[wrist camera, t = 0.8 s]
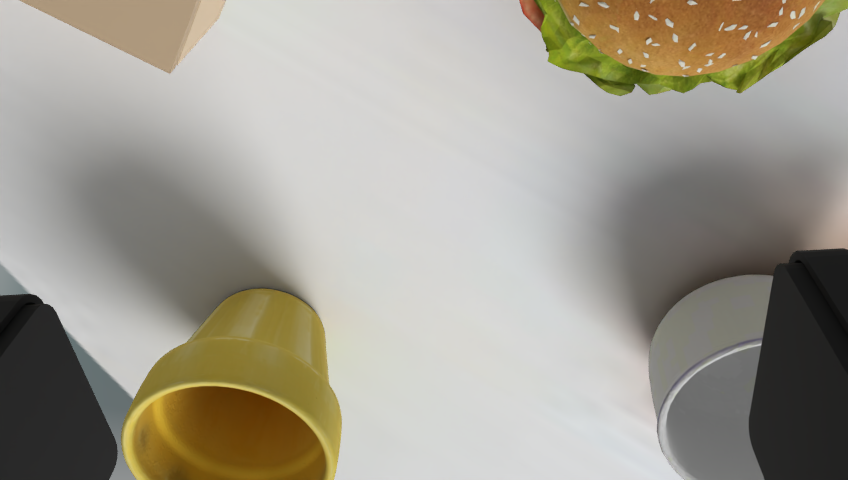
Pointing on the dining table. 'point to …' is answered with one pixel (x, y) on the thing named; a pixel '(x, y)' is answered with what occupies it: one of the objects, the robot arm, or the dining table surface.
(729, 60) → the food
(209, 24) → the box
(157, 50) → the lid
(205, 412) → the plant pot
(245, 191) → the dining table surface
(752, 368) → the teacup
